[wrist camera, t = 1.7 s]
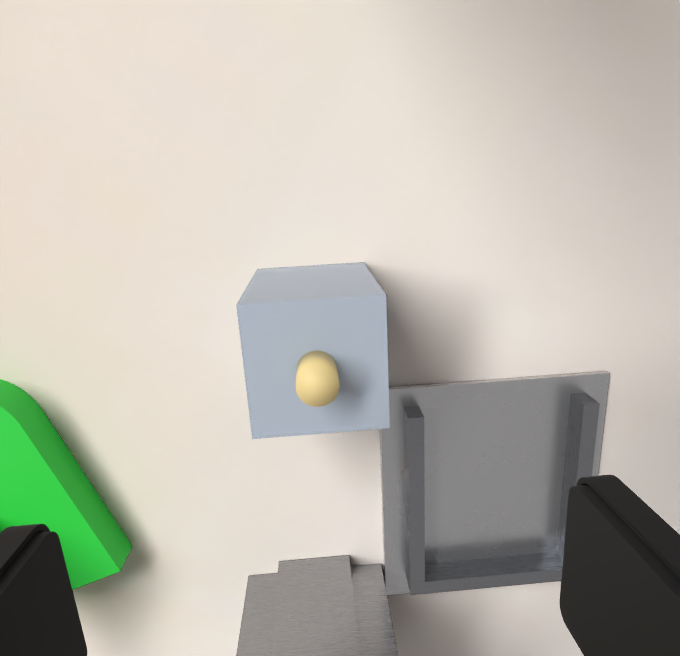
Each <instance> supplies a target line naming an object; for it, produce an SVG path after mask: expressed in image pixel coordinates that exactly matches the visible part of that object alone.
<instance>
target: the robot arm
mask: <svg viewBox="0 0 680 656" xmlns="http://www.w3.org/2000/svg"><path fill="white" fill-rule="evenodd" d="M560 609H561V614H562V617H563V620H564V622H565V624H566V626H567V628H568V629H569V631H570V633H571V635H572V636H573V638H574V640H575V641H576V643H577V645H578V646H579V648H580V650H581V651H582V653H583V655H584V656H680V535H679V534H678V533H677V532H676V531H675V530H674V529H673V528H672V527H671V526H670V525H668V524H667V523H666V522H665V521H664V520H663V519H662V518H661V517H660V516H659V515H658V514H656V513H655V512H654V511H653V510H652V509H651V508H650V507H649V506H648V505H647V504H646V503H645V502H643V501H642V500H641V499H640V498H639V497H638V496H637V495H636V494H635V493H634V492H633V491H631V490H630V489H629V488H628V487H627V486H626V485H625V484H624V483H623V482H622V481H621V480H619V479H618V478H617V477H615V476H614V475H602V476H590V477H582V478H580V479H579V480H578V482H577V485H576V486H573V487H571V488H570V490H569V495H568V507H567V519H566V531H565V544H564V556H563V568H562V580H561V592H560ZM0 656H87V647H86V643H85V639H84V635H83V631H82V627H81V623H80V619H79V615H78V611H77V607H76V603H75V599H74V595H73V591H72V587H71V583H70V579H69V575H68V571H67V567H66V563H65V559H64V555H63V551H62V547H61V543H60V539H59V536H58V534H57V533H56V532H53V531H51V532H50V530H49V528H48V527H47V526H46V525H45V524H32V525H21V526H11V527H7V528H5V529H4V530H3V531H2V532H1V533H0Z"/></svg>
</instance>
